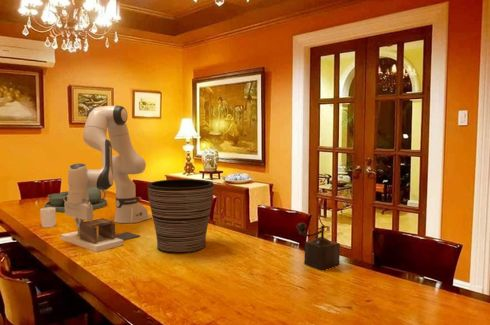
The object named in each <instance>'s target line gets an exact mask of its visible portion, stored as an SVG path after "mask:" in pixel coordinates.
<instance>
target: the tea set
mask: <svg viewBox="0 0 490 325" xmlns="http://www.w3.org/2000/svg"><path fill="white" fill-rule="evenodd" d="M68 191H69V190H68ZM68 191H62V192H59V193H51V194H48V195H47V198H48V200H49V201H46V203H44V208H47V207H54V208H56V213H65V206H64V203H65V201H64V196H66V195H68ZM102 192H103V197H102ZM88 196H89V201H90V203H91V204H92V207H93V211H94V210H97V209H98V210H99V209H102V208H104V207H105V206H107V204H108V201H107V199H106V196H107V193H106V190H100V189H88Z"/></svg>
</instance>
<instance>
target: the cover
mask: <svg viewBox="0 0 490 325" xmlns="http://www.w3.org/2000/svg"><path fill="white" fill-rule="evenodd" d="M97 232H98V235H101V236H104V237H107V238H111V239H115V235H116V224H115V222H114V220H110V219H106V218H103V217H102V218H98V219H92V220H87V221H86V220H85V221H83V222H81V224H80V239H82V240H85V241H88V242H91V243H97Z"/></svg>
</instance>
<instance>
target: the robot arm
mask: <svg viewBox="0 0 490 325" xmlns="http://www.w3.org/2000/svg"><path fill="white" fill-rule="evenodd" d="M128 117H129V116H128V112H127V109H126V108H125V107H124V106H123V105H122V106H121V105H103V106H97V107H95V106H94V107H91V108H89V109H88V110H87V112H86V121H85V122H84V123H85V124H84V128H83V132H82V133H83V134H82V139H83V141H84V143H85V144H86V145H87V146H88V147H90V148H92V149H94V150H97V151H100V152H101V166H102V167H101V168H100V169H89V168H87V165H86V164H85V163H74V164H71V165H69V167H68V171H67V172H68V174H67V184H68V195H66V196H64V201H65V203H64V206H65V212H64V213H65V216H69V217H71V218H72V217H73V218H74V222H75V227H77V228H78V227H80V224H81V222H86V221H91V220H94V215H95V214H94V210H93V207H92V204H91V203H90V201H89V196H88V189H100V191H101V190H104V191H106V190H109V189H110V188H111V187H112V186H113V185H114V184H115V196H116V197H115V216H114V220H113V223H119V224H120V223H121V224H131V223H132V224H136V223H139V222H144V221H147V220H150V219H153V216H152V215H150V214H149V213H148V211H149V210H148V208H146V206H144V205H143V204H142V203H140V202H139V201H141V200H142V199H143V198H142V197H141V196H136V184H135V182H134V181H133V180H131V178H130V176H129V175H139V174H143V173H144V171H145V169H146V167H147V166H146V165H147V164H146V161H145V159H144V158H143V157H142V156H141V155H139V153H137V151H136V150H135V147H134V146H133V144H132V142H131V137H130V134H129V128H128V125H127V121H128ZM107 134H108V138H109V139H108V138H107ZM113 151H115V152H116V153H118V154H116V155H113Z"/></svg>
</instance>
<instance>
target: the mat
mask: <svg viewBox="0 0 490 325" xmlns="http://www.w3.org/2000/svg"><path fill="white" fill-rule="evenodd" d="M140 237H141V235H139V234H136V233H132V232H129V231H125V232H122V233H117V234H115V238H118V239H122V240H123V242H124V241H128V240H132V239H136V238H140Z"/></svg>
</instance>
